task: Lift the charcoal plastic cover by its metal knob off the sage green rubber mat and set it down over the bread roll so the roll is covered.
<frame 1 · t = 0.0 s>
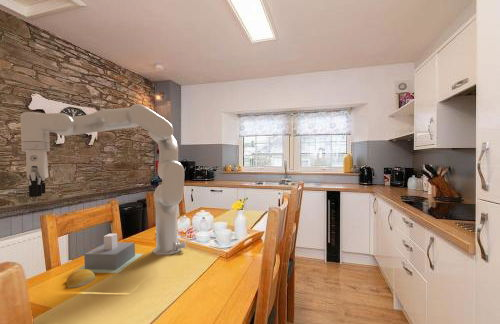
hand: (37, 195, 85), 31 cm above the table, tool pointing down, fingers open, 9 cm apart
sage mat: (111, 263, 99), on the table
cover: (111, 262, 99), resting on sage mat
bread roll: (80, 283, 84), on the table
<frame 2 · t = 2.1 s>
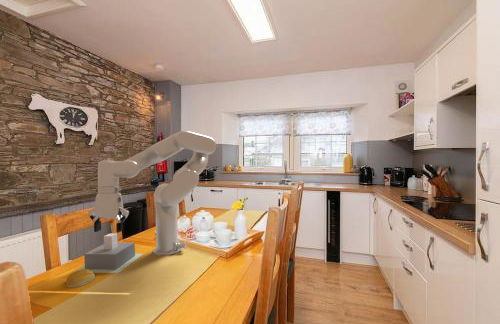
hand: (108, 231, 99), 14 cm above the table, tool pointing down, fingers open, 9 cm apart
nothing on the table moved.
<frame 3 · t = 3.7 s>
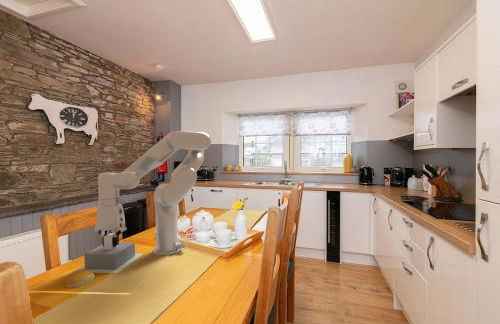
hand: (110, 245, 99), 8 cm above the table, tool pointing down, fingers closed on cover, 3 cm apart
cover: (111, 262, 99), point 1 cm above the table, touching gripper
everything else where it was.
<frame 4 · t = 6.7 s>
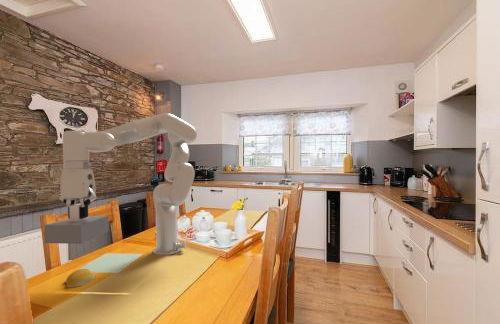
hand: (78, 217, 84), 23 cm above the table, tool pointing down, fingers closed on cover, 3 cm apart
cover: (79, 237, 84), point 16 cm above the table, touching gripper
everything else where it was.
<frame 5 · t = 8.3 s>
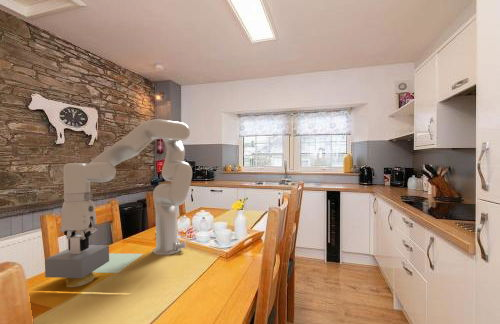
hand: (79, 248, 84), 12 cm above the table, tool pointing down, fingers closed on cover, 3 cm apart
cover: (79, 268, 84), point 5 cm above the table, touching gripper
everything else where it was.
when the fingers open (8 cm above the table, at t = 9.6 s): cover drops 1 cm, resting on sage mat.
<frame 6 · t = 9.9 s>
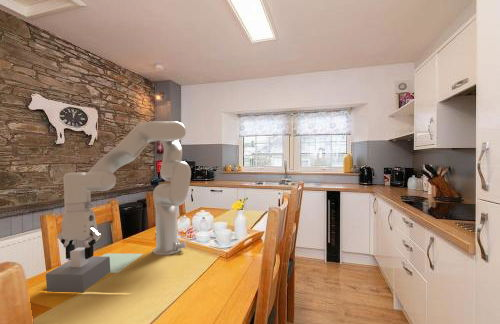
hand: (79, 256, 84), 9 cm above the table, tool pointing down, fingers open, 6 cm apart
cover: (80, 281, 84), resting on sage mat
everything else where it was.
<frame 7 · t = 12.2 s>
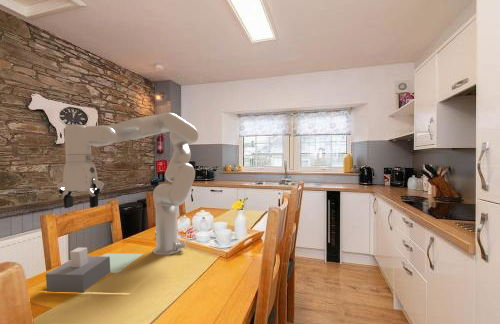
hand: (81, 207, 85), 26 cm above the table, tool pointing down, fingers open, 9 cm apart
nothing on the table moved.
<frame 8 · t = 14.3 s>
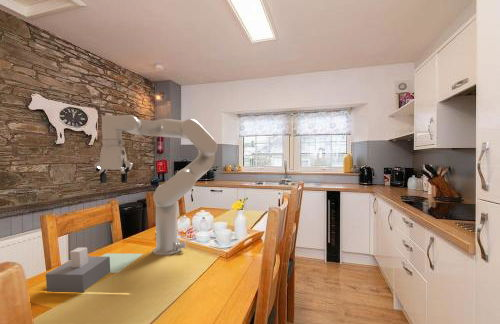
hand: (113, 182, 105), 33 cm above the table, tool pointing down, fingers open, 9 cm apart
nothing on the table moved.
at the end: cover 0.8 cm from the bread roll (horizontally); cover on the table; cover tilted 2° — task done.
